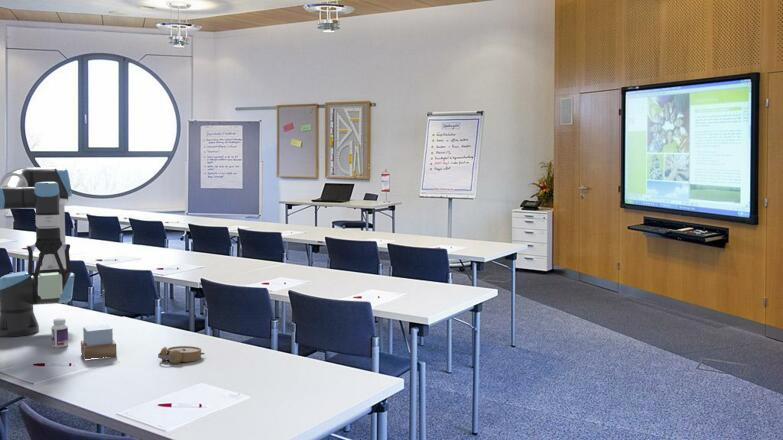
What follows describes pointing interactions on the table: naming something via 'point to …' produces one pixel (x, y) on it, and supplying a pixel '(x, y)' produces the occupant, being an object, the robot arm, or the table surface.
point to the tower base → (98, 350)
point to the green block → (50, 285)
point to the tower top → (98, 335)
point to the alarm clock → (180, 354)
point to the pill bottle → (59, 333)
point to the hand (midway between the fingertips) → (50, 294)
